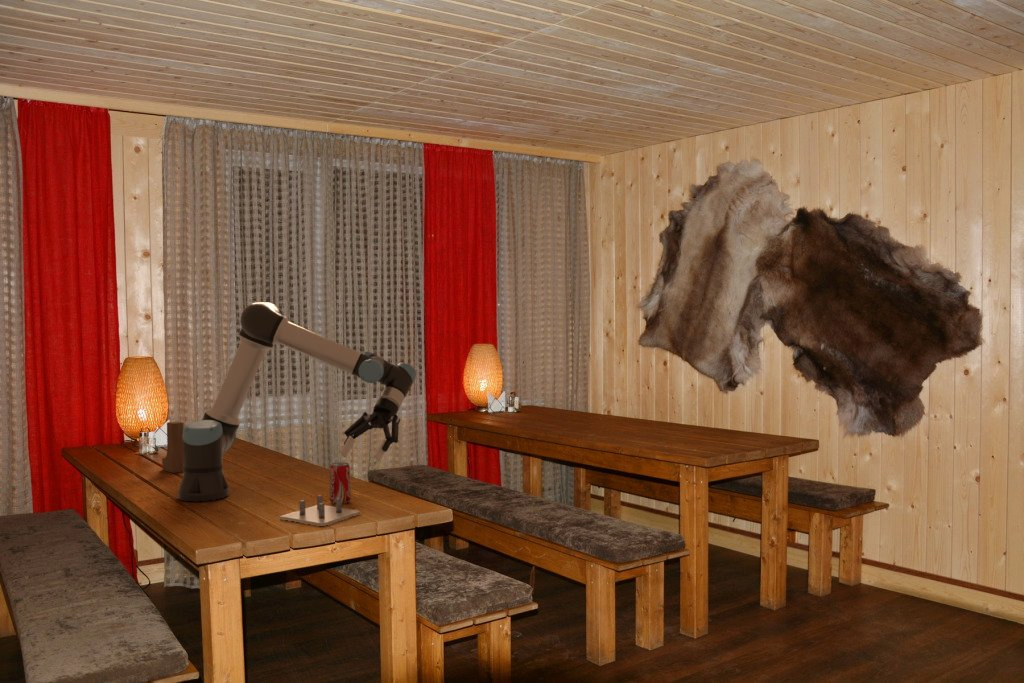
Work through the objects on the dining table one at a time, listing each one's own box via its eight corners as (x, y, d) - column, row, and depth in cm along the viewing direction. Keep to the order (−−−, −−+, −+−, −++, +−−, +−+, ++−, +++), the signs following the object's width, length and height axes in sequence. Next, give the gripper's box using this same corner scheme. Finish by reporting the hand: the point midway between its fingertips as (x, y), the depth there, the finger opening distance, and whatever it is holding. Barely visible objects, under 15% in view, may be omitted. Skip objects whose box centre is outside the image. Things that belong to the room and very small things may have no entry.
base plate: (279, 519, 242) (279, 516, 242) (318, 507, 256) (318, 504, 256) (322, 527, 234) (322, 523, 234) (360, 514, 248) (360, 510, 248)
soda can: (343, 499, 267) (343, 461, 266) (354, 502, 262) (354, 463, 262) (326, 502, 263) (325, 463, 262) (336, 505, 258) (336, 466, 258)
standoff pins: (298, 514, 243) (298, 501, 243) (319, 508, 251) (319, 494, 251) (321, 518, 239) (321, 504, 239) (342, 512, 246) (342, 498, 246)
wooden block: (161, 470, 312) (161, 421, 312) (174, 468, 316) (173, 419, 315) (172, 473, 306) (171, 423, 305) (184, 471, 309) (184, 422, 308)
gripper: (424, 413, 278) (396, 467, 266) (364, 408, 290) (335, 460, 278) (414, 398, 273) (386, 453, 261) (353, 394, 285) (323, 446, 273)
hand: (359, 456), depth 269 cm, fingers open, 13 cm apart
